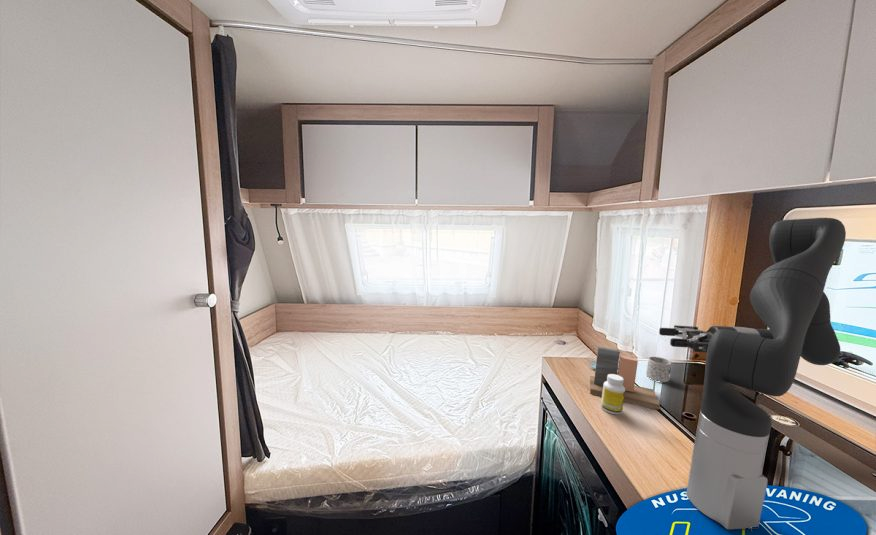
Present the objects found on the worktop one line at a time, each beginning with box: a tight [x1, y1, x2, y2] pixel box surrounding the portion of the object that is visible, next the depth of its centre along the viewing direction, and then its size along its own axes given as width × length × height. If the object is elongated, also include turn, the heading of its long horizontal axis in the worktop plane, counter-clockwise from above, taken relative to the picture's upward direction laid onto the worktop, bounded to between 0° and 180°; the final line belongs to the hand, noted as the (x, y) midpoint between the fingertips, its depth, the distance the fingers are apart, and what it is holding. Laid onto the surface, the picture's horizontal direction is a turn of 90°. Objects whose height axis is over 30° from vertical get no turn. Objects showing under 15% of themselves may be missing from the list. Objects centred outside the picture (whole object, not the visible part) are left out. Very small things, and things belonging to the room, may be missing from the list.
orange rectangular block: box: [617, 355, 639, 392], centre depth 99 cm, size 2×5×10 cm, turn 65°
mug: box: [645, 356, 673, 383], centre depth 113 cm, size 10×7×7 cm
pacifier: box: [589, 356, 597, 370], centre depth 116 cm, size 7×6×6 cm
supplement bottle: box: [600, 374, 625, 415], centre depth 90 cm, size 5×5×10 cm
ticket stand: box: [589, 346, 661, 411], centre depth 99 cm, size 10×18×14 cm, turn 65°
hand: (665, 336), depth 93 cm, fingers open, 8 cm apart
